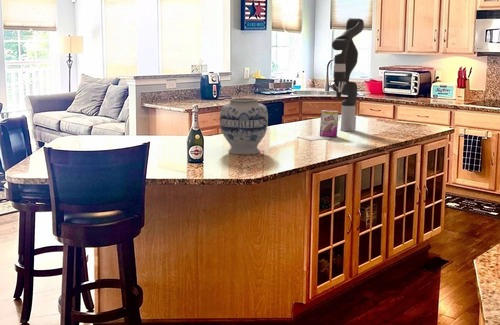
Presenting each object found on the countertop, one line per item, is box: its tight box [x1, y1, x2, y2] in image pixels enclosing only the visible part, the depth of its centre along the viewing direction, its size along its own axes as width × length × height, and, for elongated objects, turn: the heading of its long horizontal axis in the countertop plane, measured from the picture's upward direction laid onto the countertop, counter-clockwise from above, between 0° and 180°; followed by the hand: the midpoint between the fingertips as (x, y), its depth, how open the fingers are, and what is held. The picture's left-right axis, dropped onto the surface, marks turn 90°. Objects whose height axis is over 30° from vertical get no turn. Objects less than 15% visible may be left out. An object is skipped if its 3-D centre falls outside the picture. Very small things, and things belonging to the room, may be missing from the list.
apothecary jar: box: [219, 97, 269, 156], centre depth 352 cm, size 27×27×30 cm
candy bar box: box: [319, 110, 340, 138], centre depth 406 cm, size 11×5×16 cm, turn 84°
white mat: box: [297, 134, 331, 141], centre depth 403 cm, size 16×14×1 cm
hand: (338, 97), depth 406 cm, fingers closed
